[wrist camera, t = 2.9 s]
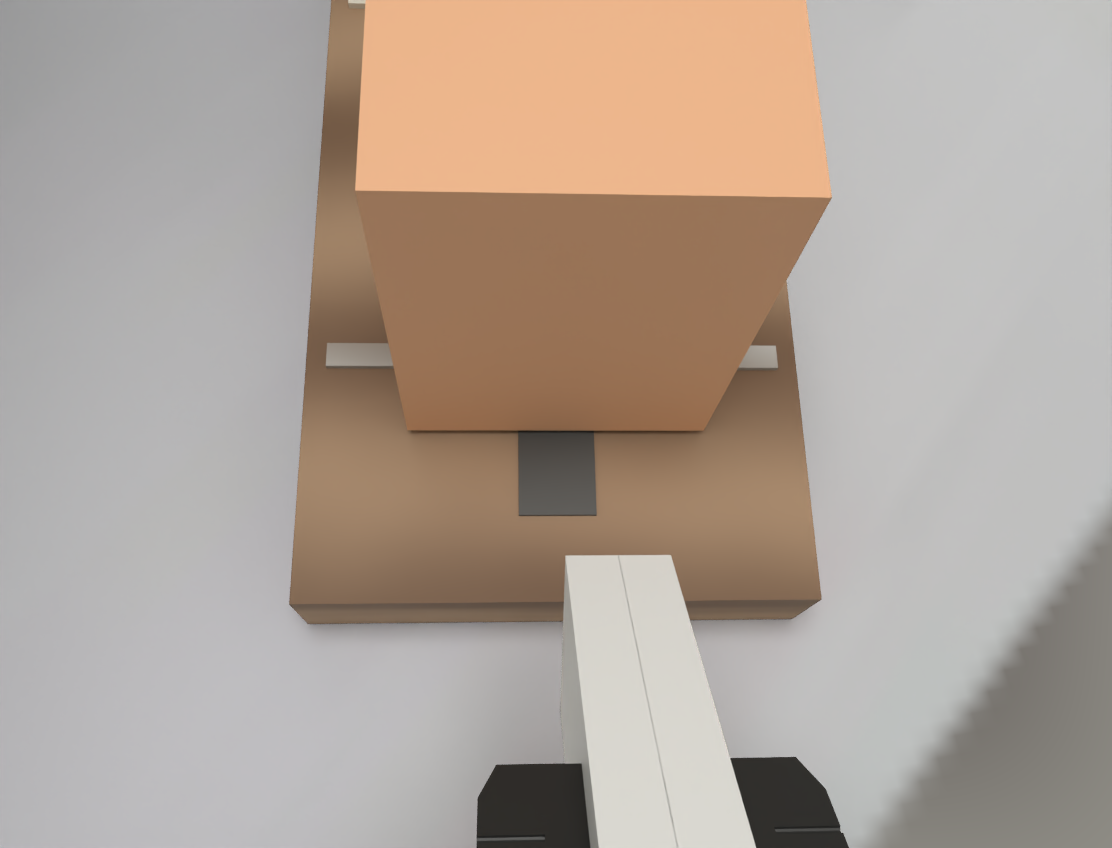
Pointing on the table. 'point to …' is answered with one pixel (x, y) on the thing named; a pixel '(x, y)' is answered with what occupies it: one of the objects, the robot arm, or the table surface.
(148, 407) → the table surface
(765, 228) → the fader knob
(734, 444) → the fader board
